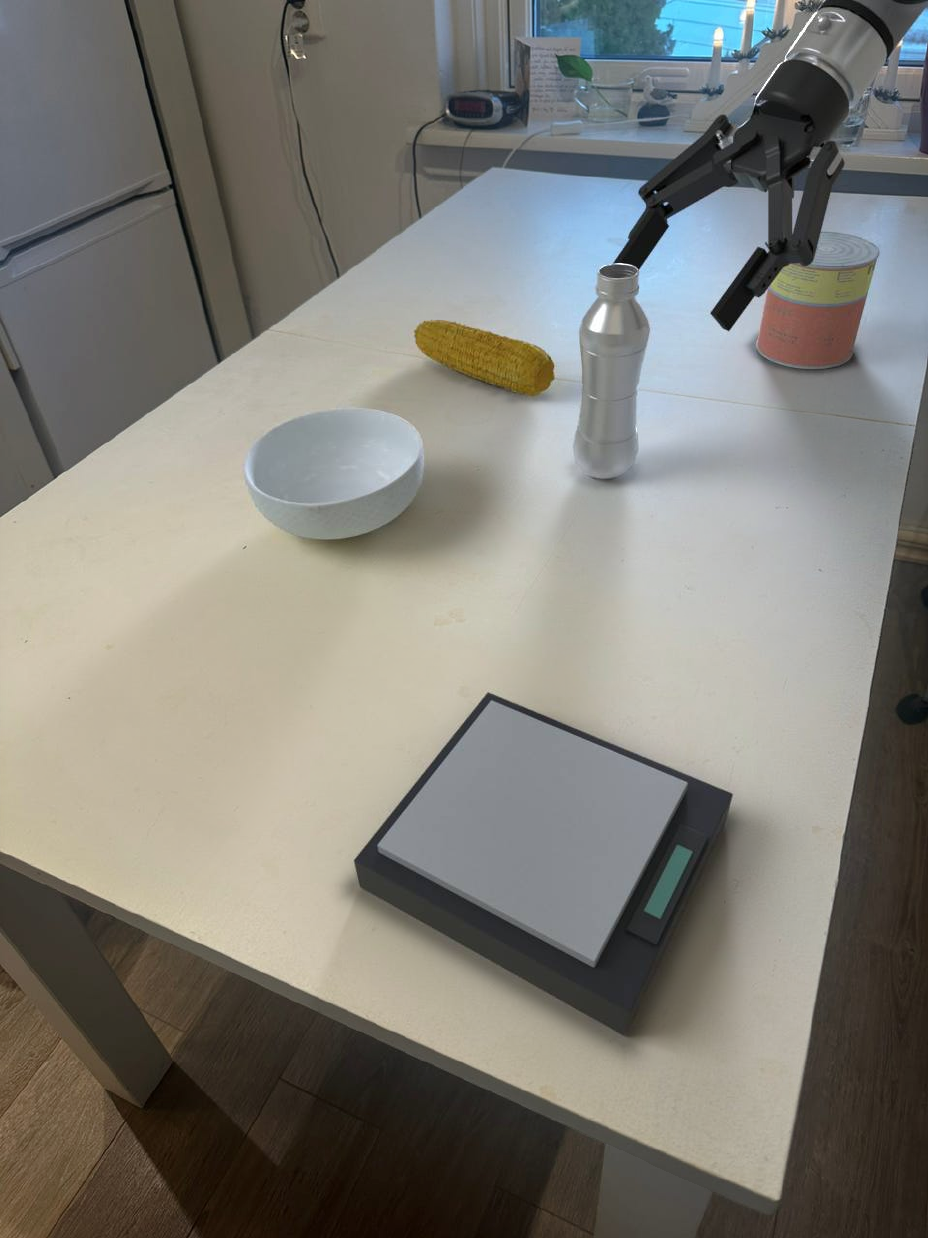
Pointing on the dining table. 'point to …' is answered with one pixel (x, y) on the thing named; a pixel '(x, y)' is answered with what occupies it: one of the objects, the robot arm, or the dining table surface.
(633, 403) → the silver aluminium bottle
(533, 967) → the scale
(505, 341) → the food
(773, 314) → the canned food
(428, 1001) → the dining table surface
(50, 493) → the dining table surface
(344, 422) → the cereal bowl
